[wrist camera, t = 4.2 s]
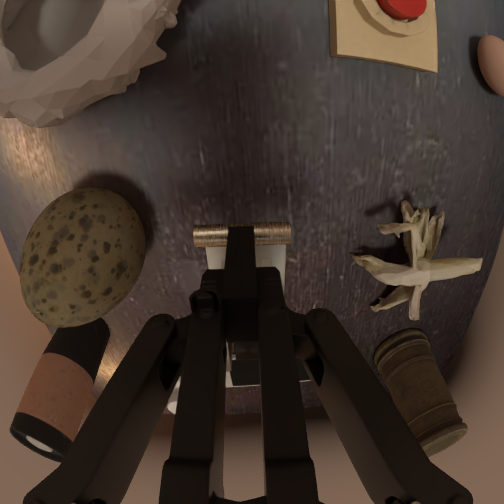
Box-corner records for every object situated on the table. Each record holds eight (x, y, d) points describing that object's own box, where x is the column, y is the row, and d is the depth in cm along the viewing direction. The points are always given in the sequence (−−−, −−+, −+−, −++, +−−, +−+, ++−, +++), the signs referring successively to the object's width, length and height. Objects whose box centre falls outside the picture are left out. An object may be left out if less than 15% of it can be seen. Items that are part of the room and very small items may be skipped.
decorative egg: (70, 162, 26) (-27, 231, 13) (166, 180, 28) (105, 270, 15) (70, 250, 32) (6, 340, 19) (154, 270, 33) (114, 380, 20)
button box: (323, -53, 16) (335, -69, 12) (419, -30, 16) (439, -39, 12) (330, 56, 22) (343, 52, 19) (425, 72, 22) (448, 73, 19)
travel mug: (116, 348, 40) (78, 469, 23) (72, 339, 40) (27, 449, 23) (106, 310, 36) (52, 445, 19) (59, 302, 36) (-4, 420, 19)
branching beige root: (343, 185, 31) (478, 178, 23) (365, 274, 41) (466, 274, 34) (330, 246, 26) (496, 243, 19) (356, 329, 36) (469, 331, 29)
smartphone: (323, 374, 44) (324, 379, 43) (223, 383, 44) (222, 387, 43) (327, 345, 40) (328, 350, 39) (215, 354, 41) (214, 359, 40)
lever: (196, 217, 20) (190, 236, 18) (287, 214, 20) (292, 232, 18) (214, 339, 27) (213, 360, 25) (282, 337, 27) (284, 358, 25)
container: (363, 354, 42) (395, 461, 27) (410, 318, 39) (461, 424, 23) (390, 372, 45) (421, 463, 30) (433, 340, 42) (476, 431, 26)
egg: (491, 93, 23) (464, 37, 20) (527, 85, 19) (501, 26, 16) (496, 111, 21) (466, 46, 18) (536, 102, 16) (509, 34, 14)
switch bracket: (205, 231, 31) (187, 310, 21) (284, 228, 31) (303, 306, 21) (214, 306, 36) (206, 389, 26) (282, 304, 36) (294, 386, 26)
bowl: (7, 113, 22) (-57, 136, 14) (42, -52, 12) (-12, -71, 3) (179, 121, 25) (145, 143, 16) (229, -72, 15) (223, -127, 6)
